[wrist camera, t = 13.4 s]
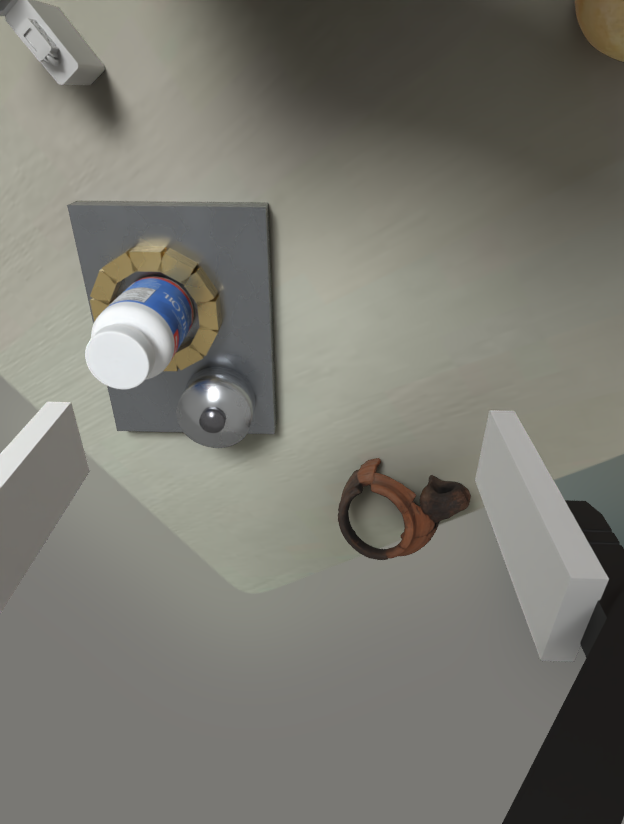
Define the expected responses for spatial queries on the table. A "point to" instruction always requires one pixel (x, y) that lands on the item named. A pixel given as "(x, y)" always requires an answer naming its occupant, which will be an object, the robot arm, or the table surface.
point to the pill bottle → (139, 332)
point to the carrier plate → (212, 304)
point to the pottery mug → (402, 509)
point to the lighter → (53, 41)
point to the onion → (603, 25)
